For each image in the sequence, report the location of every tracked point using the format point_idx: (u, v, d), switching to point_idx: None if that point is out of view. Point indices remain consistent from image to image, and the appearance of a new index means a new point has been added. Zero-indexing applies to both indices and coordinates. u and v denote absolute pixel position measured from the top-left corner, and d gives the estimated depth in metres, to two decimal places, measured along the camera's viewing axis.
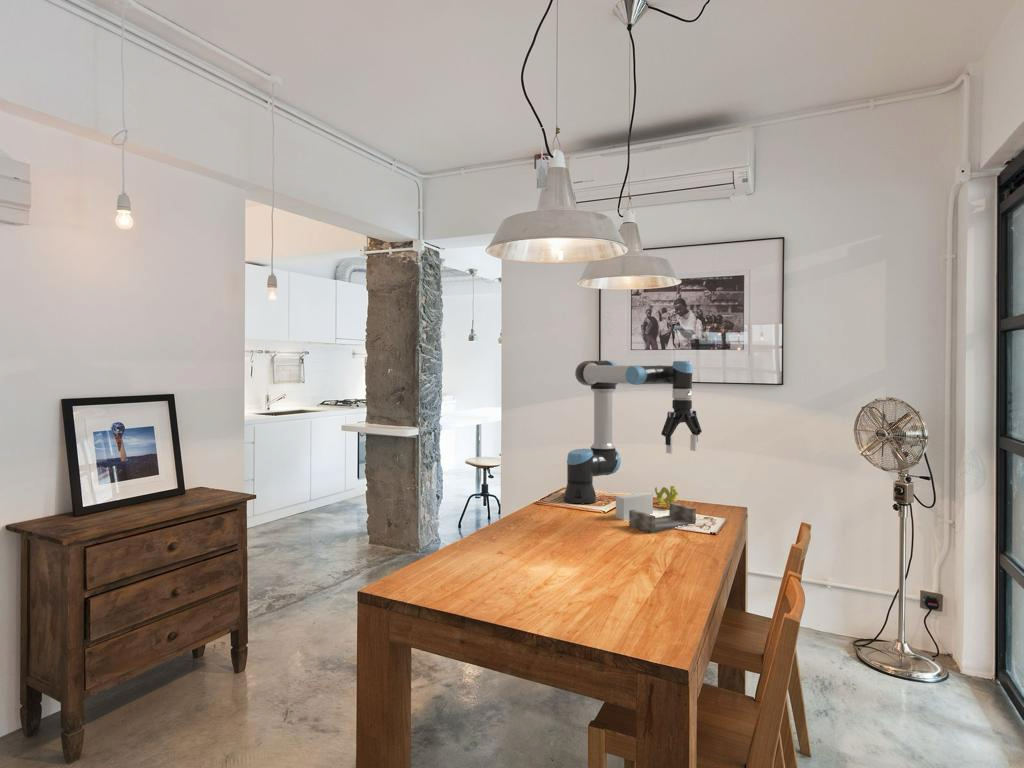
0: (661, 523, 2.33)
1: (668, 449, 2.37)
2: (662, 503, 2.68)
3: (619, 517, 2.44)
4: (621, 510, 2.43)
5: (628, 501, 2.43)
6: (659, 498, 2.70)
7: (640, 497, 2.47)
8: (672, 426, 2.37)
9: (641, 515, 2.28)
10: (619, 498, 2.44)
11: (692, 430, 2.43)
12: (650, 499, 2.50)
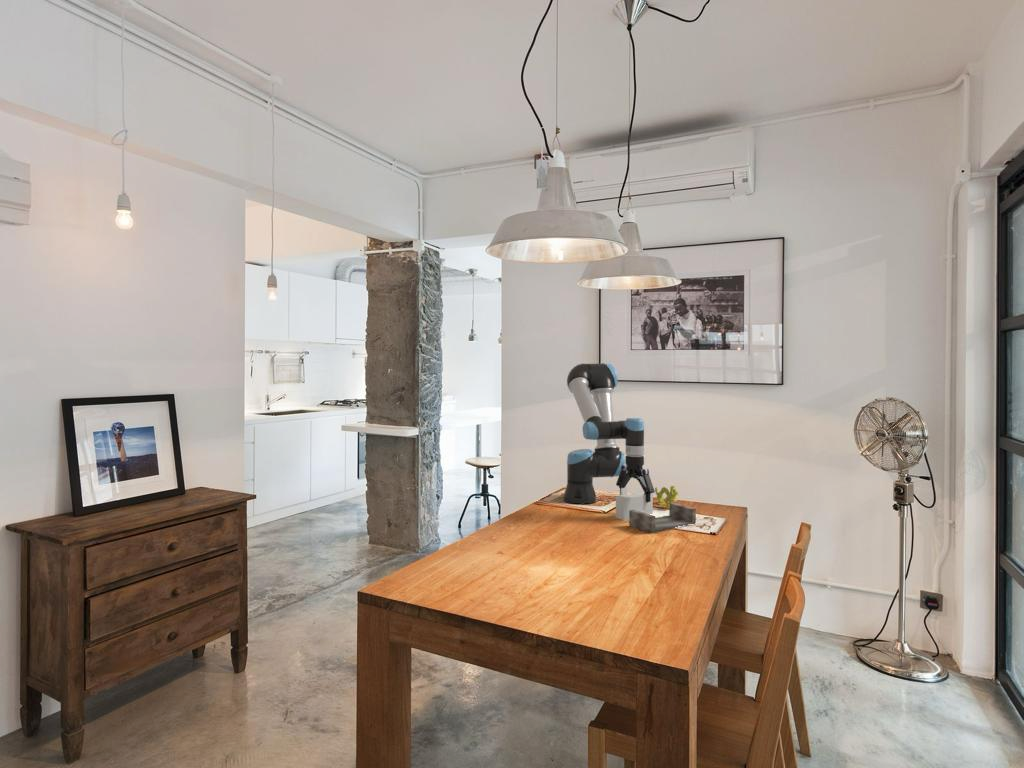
0: (661, 523, 2.33)
1: None
2: (662, 503, 2.68)
3: (619, 517, 2.44)
4: (621, 510, 2.43)
5: (628, 502, 2.43)
6: (659, 498, 2.70)
7: (640, 497, 2.47)
8: None
9: (641, 515, 2.28)
10: (619, 498, 2.44)
11: None
12: (650, 499, 2.50)
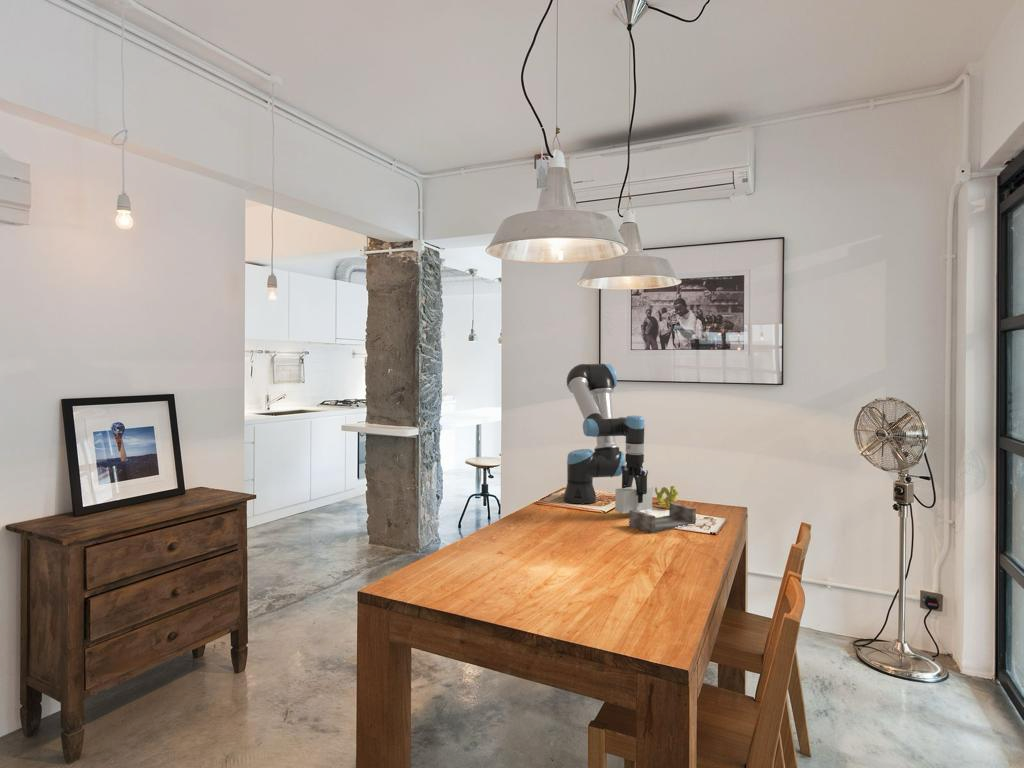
0: (661, 523, 2.33)
1: None
2: (662, 503, 2.68)
3: (619, 510, 2.45)
4: (620, 503, 2.44)
5: (628, 495, 2.43)
6: (659, 498, 2.70)
7: None
8: None
9: (641, 515, 2.28)
10: (619, 491, 2.44)
11: None
12: (650, 492, 2.50)
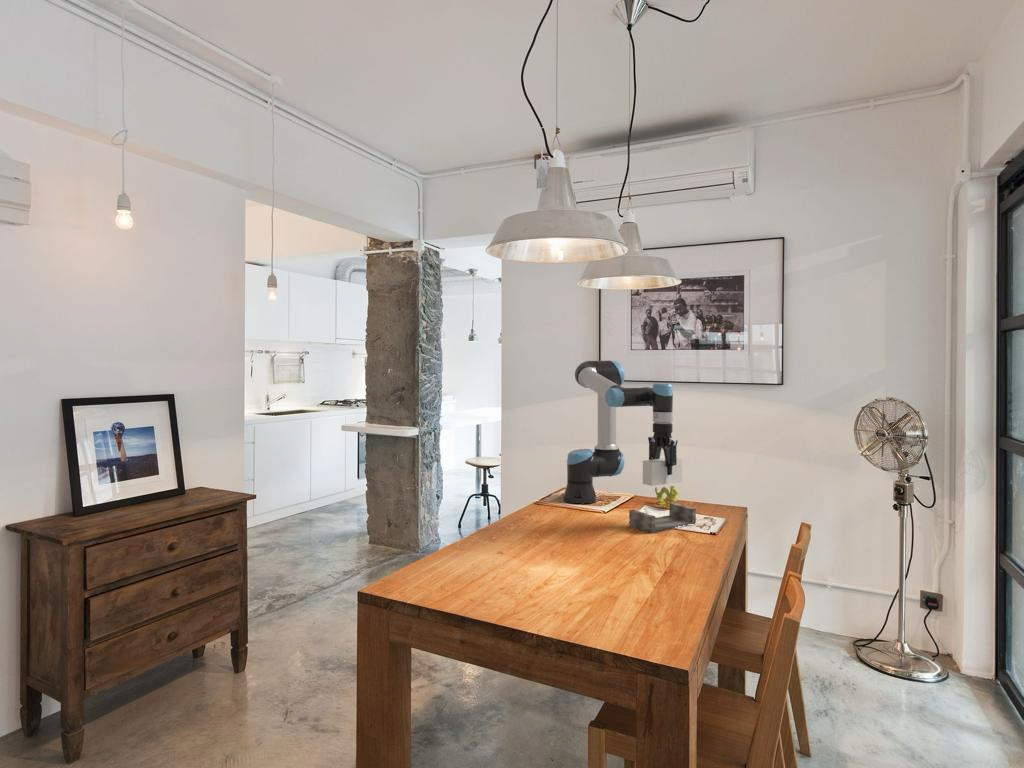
0: (661, 523, 2.33)
1: None
2: (662, 503, 2.68)
3: (647, 483, 2.30)
4: (648, 475, 2.29)
5: (656, 466, 2.29)
6: (659, 498, 2.70)
7: None
8: None
9: (641, 515, 2.28)
10: (647, 462, 2.30)
11: None
12: (679, 464, 2.36)
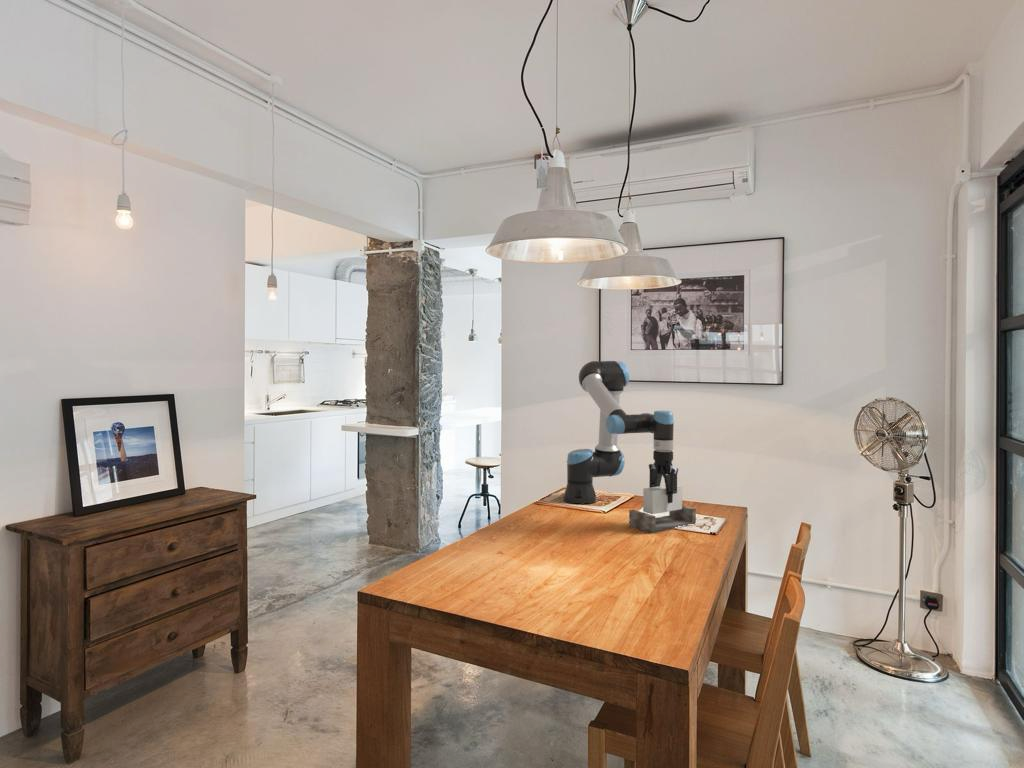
0: (661, 523, 2.33)
1: None
2: None
3: (647, 511, 2.30)
4: (649, 503, 2.30)
5: (657, 494, 2.29)
6: None
7: None
8: None
9: (641, 515, 2.28)
10: (647, 490, 2.30)
11: None
12: (680, 491, 2.36)
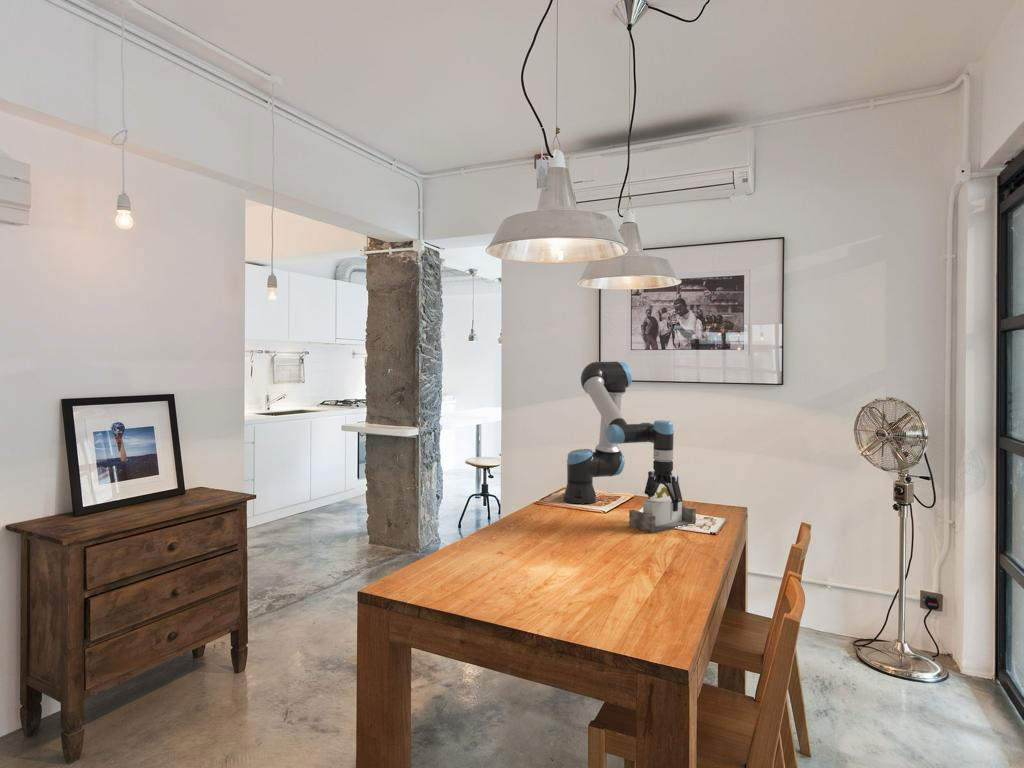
0: None
1: None
2: None
3: None
4: None
5: (657, 506, 2.30)
6: None
7: (669, 501, 2.33)
8: None
9: (641, 515, 2.28)
10: (647, 503, 2.31)
11: None
12: (680, 503, 2.36)
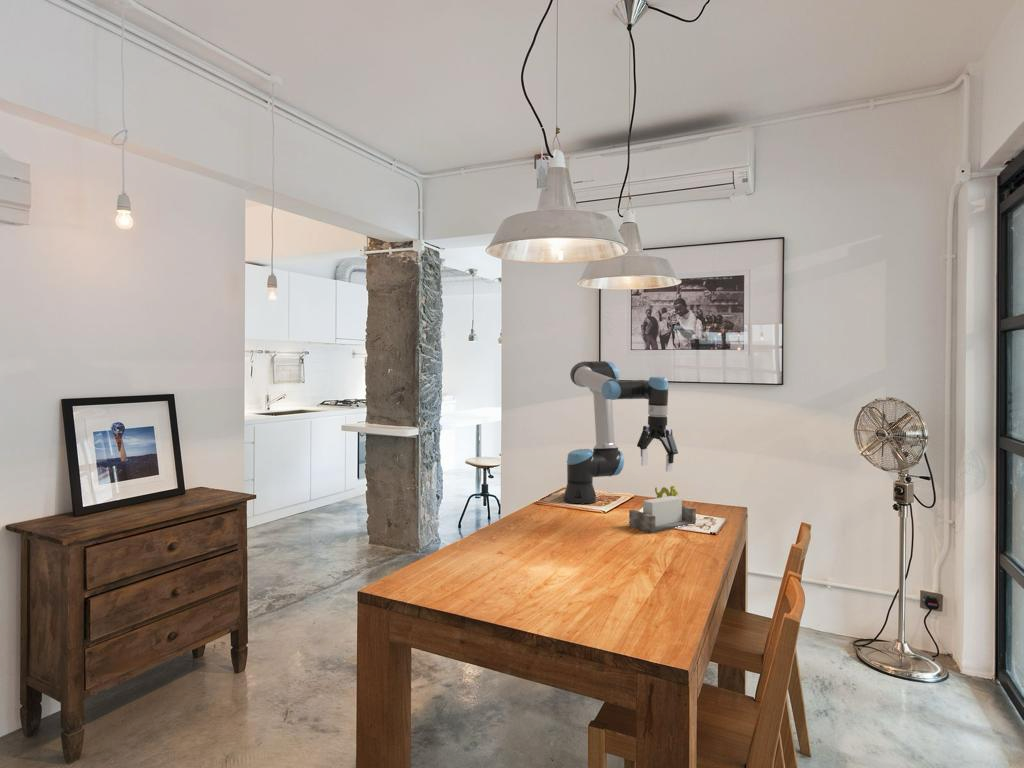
0: None
1: None
2: None
3: None
4: None
5: (657, 506, 2.30)
6: None
7: (669, 501, 2.33)
8: None
9: (641, 515, 2.28)
10: (647, 503, 2.31)
11: None
12: (680, 503, 2.36)
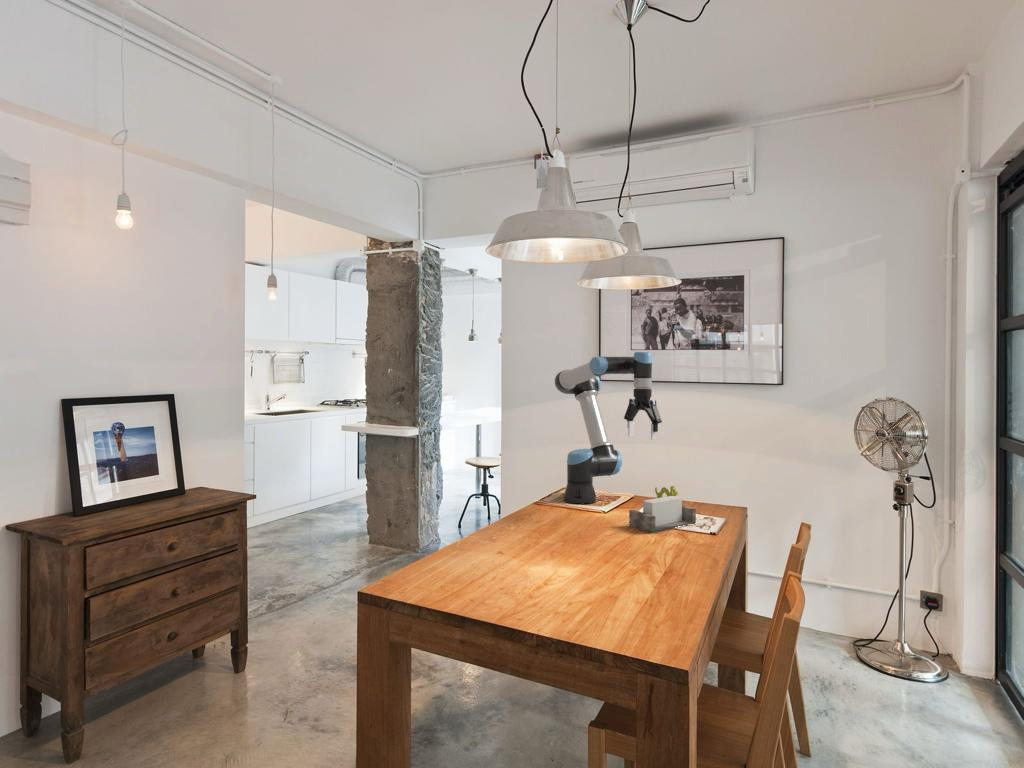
0: None
1: None
2: None
3: None
4: None
5: (657, 506, 2.30)
6: None
7: (669, 501, 2.33)
8: None
9: (641, 515, 2.28)
10: (647, 503, 2.31)
11: None
12: (680, 503, 2.36)
